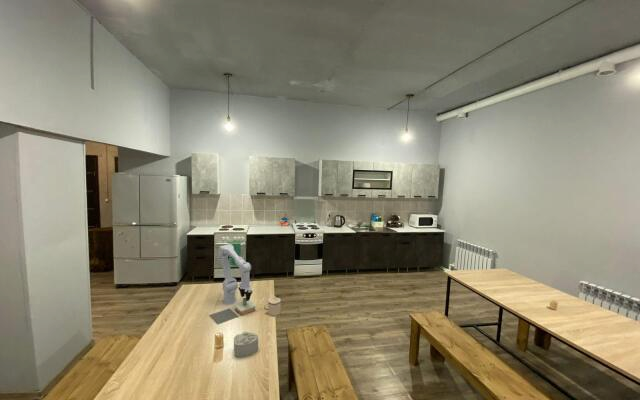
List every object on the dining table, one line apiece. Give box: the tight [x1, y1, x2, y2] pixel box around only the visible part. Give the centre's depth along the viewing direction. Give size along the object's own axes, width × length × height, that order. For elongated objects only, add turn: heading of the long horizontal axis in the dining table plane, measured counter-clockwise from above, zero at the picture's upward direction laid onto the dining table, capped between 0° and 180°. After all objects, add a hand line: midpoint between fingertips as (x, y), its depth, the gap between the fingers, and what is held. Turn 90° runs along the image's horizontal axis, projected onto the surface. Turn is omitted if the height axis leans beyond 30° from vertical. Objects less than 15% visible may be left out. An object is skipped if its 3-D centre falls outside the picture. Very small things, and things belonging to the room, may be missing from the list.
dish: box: [235, 307, 256, 316], centre depth 194 cm, size 10×10×4 cm
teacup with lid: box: [263, 296, 282, 316], centre depth 192 cm, size 12×9×12 cm
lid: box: [232, 297, 257, 312], centre depth 193 cm, size 12×12×5 cm
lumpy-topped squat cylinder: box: [233, 331, 259, 358], centre depth 151 cm, size 10×13×9 cm
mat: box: [208, 307, 240, 325], centre depth 186 cm, size 15×15×1 cm
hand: (245, 298), depth 193 cm, fingers open, 7 cm apart
